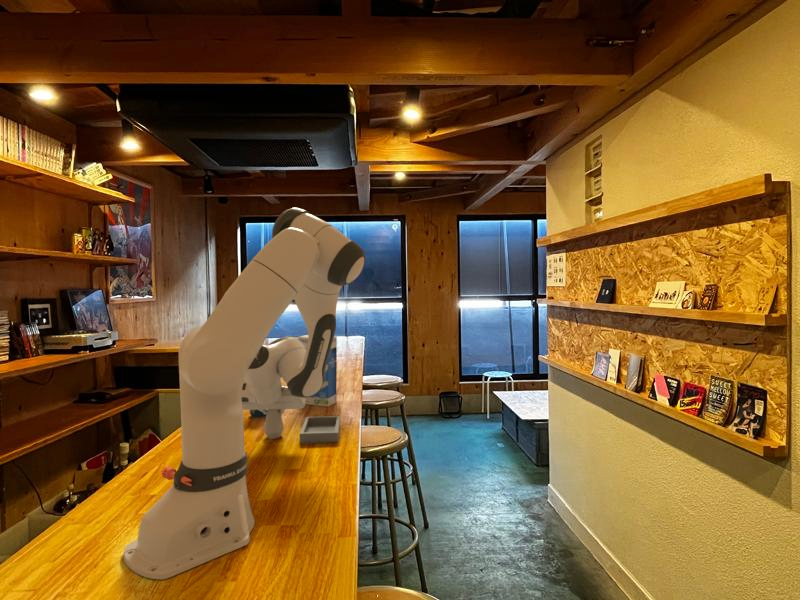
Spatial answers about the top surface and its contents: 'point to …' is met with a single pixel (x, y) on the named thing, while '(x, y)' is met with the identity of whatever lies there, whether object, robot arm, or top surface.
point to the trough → (320, 430)
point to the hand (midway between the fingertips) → (274, 412)
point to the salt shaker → (273, 424)
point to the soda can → (257, 414)
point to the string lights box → (329, 388)
